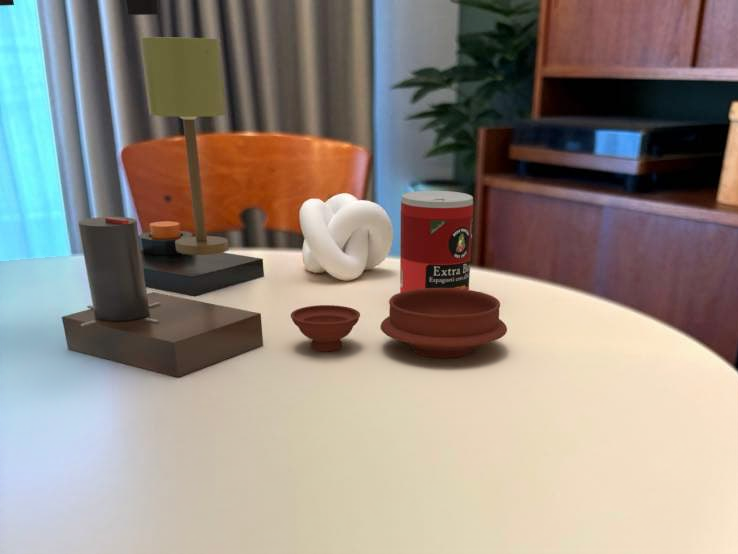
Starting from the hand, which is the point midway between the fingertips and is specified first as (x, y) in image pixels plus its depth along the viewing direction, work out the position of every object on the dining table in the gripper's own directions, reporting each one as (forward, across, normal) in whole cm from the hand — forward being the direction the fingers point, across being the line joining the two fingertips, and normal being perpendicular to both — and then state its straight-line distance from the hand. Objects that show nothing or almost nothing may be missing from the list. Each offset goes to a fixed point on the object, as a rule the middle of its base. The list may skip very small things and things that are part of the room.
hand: (76, 11), depth 64 cm
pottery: (+27, +14, -21) cm, 36 cm away
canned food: (+27, +31, -15) cm, 43 cm away
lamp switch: (+23, +26, +21) cm, 40 cm away
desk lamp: (+22, +22, +11) cm, 33 cm away
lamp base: (+26, +23, +16) cm, 38 cm away
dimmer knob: (+23, 0, 0) cm, 23 cm away
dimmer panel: (+26, +2, -3) cm, 27 cm away
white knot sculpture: (+26, +35, +1) cm, 44 cm away
